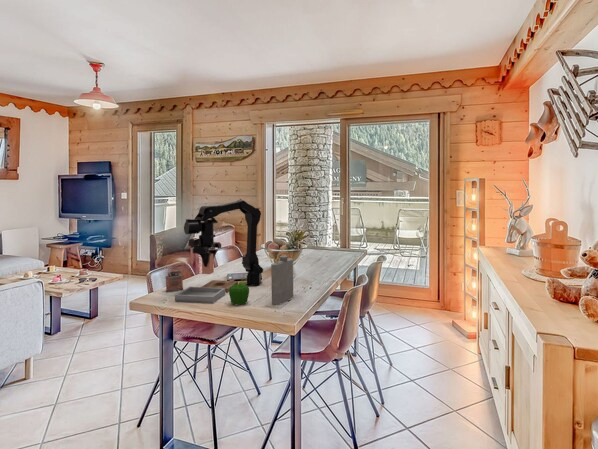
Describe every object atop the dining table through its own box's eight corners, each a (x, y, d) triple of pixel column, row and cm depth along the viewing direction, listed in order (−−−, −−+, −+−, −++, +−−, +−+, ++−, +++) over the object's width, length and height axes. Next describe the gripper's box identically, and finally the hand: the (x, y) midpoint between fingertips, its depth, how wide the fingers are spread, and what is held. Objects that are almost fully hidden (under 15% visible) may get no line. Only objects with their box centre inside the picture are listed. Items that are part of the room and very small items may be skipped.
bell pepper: (225, 303, 156) (224, 281, 155) (240, 299, 162) (240, 277, 161) (237, 308, 150) (237, 284, 149) (252, 303, 156) (252, 280, 156)
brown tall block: (213, 272, 172) (213, 253, 171) (210, 274, 168) (209, 255, 167) (205, 271, 173) (205, 253, 172) (202, 273, 169) (201, 254, 168)
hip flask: (288, 294, 169) (288, 252, 167) (296, 295, 167) (295, 253, 165) (270, 304, 155) (269, 258, 153) (278, 305, 153) (278, 259, 151)
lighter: (166, 292, 173) (165, 272, 172) (165, 291, 176) (164, 271, 175) (183, 290, 177) (183, 270, 176) (182, 288, 180) (181, 269, 179)
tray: (225, 294, 170) (225, 288, 170) (213, 303, 156) (213, 296, 156) (189, 292, 173) (189, 286, 173) (174, 301, 159) (174, 295, 159)
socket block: (237, 284, 187) (237, 281, 186) (227, 292, 173) (227, 288, 173) (212, 283, 189) (212, 280, 189) (200, 291, 175) (200, 287, 175)
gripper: (200, 230, 180) (201, 261, 181) (181, 234, 161) (182, 269, 163) (221, 230, 177) (221, 262, 179) (204, 235, 159) (205, 270, 161)
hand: (207, 265), depth 170 cm, fingers closed on brown tall block, 4 cm apart
